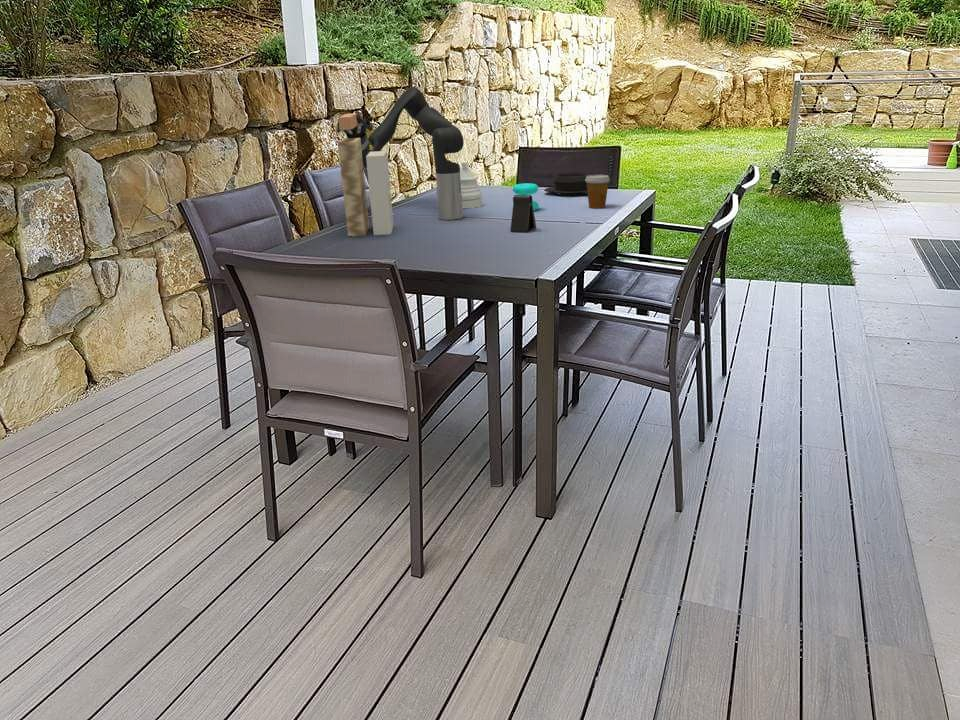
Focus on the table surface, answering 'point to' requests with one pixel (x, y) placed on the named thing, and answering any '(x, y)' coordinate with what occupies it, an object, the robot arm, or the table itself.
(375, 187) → the grey post
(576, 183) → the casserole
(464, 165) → the honey pot
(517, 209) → the door stopper
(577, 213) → the table surface
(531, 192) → the donuts
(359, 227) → the oak post
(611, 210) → the table surface
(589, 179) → the disposable coffee cup
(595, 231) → the table surface
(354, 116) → the terracotta bar
